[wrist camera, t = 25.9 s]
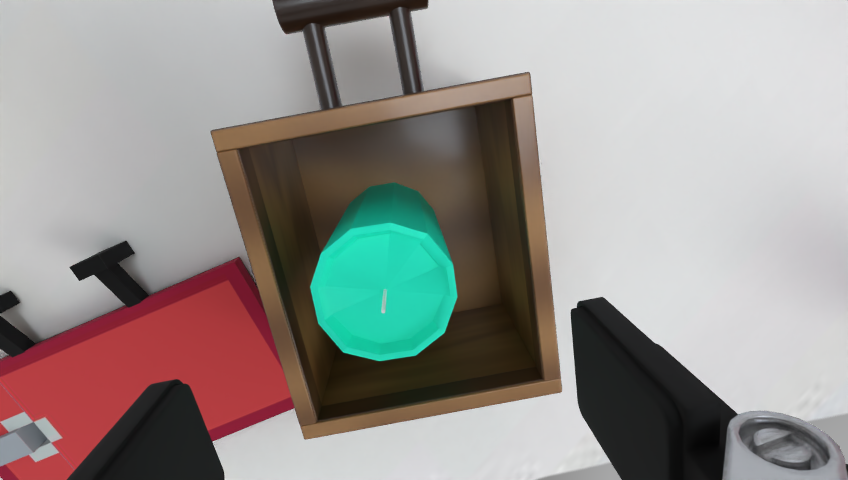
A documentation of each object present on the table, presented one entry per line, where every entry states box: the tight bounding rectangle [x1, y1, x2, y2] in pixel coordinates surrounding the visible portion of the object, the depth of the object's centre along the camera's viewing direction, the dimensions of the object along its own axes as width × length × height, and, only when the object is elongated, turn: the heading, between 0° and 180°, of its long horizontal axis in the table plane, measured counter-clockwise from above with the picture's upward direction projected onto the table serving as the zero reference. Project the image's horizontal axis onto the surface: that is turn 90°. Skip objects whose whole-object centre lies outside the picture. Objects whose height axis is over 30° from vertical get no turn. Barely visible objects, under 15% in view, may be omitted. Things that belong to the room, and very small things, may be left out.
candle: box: [310, 182, 457, 361], centre depth 22 cm, size 6×6×12 cm
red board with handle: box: [0, 241, 294, 480], centre depth 29 cm, size 30×3×15 cm
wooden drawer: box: [211, 0, 562, 440], centre depth 23 cm, size 20×13×10 cm, turn 10°
